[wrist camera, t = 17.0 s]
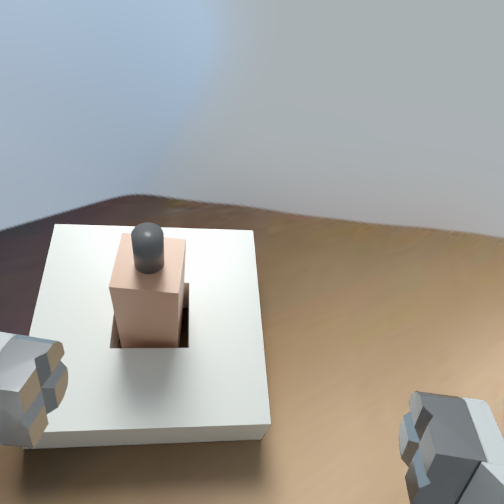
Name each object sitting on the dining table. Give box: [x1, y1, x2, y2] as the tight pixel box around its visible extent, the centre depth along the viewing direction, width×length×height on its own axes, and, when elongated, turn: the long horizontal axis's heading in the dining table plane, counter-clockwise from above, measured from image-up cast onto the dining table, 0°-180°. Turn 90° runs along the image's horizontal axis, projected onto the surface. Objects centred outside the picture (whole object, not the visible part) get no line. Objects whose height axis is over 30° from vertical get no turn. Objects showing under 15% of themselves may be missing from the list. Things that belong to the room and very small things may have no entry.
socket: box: [22, 224, 271, 449], centre depth 39 cm, size 18×18×4 cm
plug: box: [109, 223, 186, 348], centre depth 34 cm, size 4×4×15 cm
